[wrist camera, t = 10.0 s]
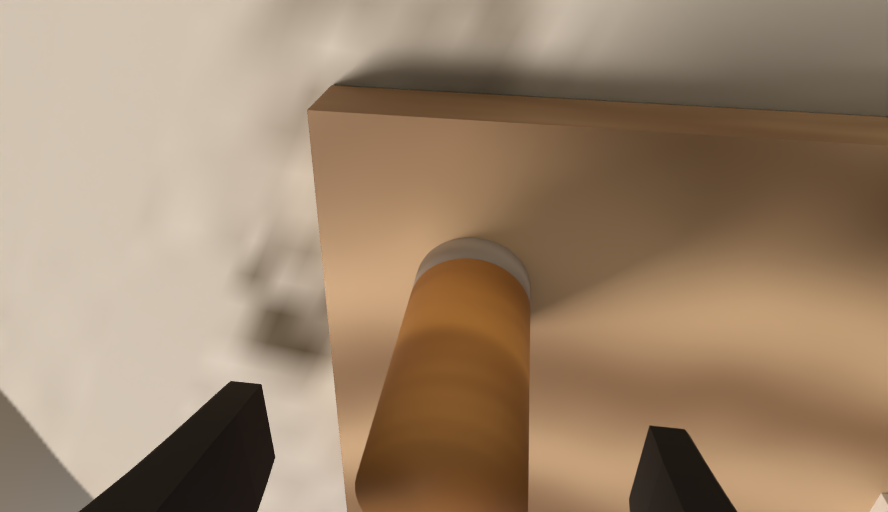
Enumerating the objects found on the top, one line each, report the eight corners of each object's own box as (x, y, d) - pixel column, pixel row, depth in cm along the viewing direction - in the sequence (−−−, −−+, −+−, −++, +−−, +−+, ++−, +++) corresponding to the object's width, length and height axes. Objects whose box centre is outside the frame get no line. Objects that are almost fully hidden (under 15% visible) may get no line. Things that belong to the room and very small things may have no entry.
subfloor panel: (1146, 585, 21) (1201, 649, 20) (362, 490, 24) (349, 539, 22) (1613, 158, 13) (1783, 202, 11) (331, 85, 16) (305, 111, 14)
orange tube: (525, 337, 17) (520, 562, 11) (416, 327, 17) (359, 541, 11) (536, 242, 15) (536, 450, 10) (415, 232, 15) (349, 429, 10)
